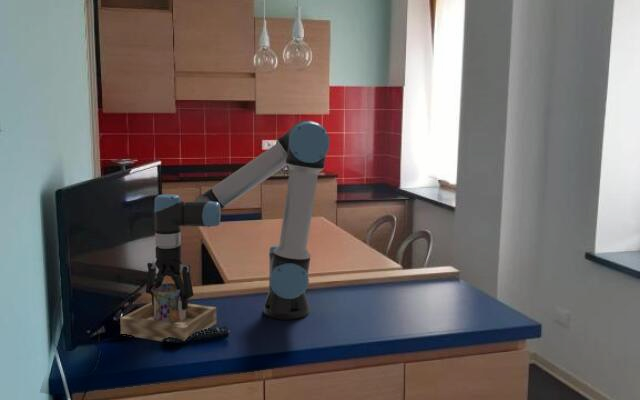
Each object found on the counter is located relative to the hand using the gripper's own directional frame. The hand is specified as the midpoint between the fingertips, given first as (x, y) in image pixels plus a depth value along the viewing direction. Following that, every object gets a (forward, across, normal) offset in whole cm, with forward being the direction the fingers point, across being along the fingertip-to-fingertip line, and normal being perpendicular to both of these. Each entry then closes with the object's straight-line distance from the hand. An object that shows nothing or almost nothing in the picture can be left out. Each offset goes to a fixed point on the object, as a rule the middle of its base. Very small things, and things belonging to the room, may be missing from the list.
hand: (170, 317), depth 187 cm
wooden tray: (+4, 0, 0) cm, 4 cm away
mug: (+1, +1, 0) cm, 1 cm away
